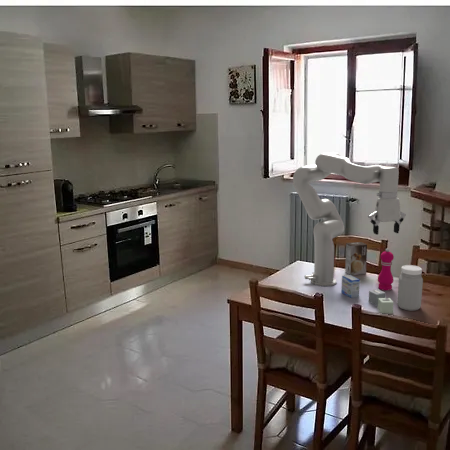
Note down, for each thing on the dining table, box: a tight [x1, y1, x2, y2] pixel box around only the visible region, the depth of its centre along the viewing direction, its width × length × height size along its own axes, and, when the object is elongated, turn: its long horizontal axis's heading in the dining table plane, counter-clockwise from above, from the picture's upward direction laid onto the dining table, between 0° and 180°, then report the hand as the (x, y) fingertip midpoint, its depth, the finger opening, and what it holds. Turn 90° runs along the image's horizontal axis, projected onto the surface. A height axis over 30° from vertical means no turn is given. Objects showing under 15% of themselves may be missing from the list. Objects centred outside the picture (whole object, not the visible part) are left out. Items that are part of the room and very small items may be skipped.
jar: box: [396, 264, 424, 312], centre depth 215 cm, size 10×10×18 cm
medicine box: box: [340, 274, 361, 299], centre depth 232 cm, size 8×4×9 cm, turn 23°
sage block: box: [377, 297, 395, 314], centre depth 213 cm, size 5×5×5 cm
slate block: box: [368, 288, 387, 306], centre depth 223 cm, size 5×5×5 cm
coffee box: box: [345, 241, 368, 276], centre depth 262 cm, size 9×6×16 cm
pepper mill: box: [377, 248, 395, 291], centre depth 239 cm, size 7×7×20 cm
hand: (386, 233), depth 222 cm, fingers open, 9 cm apart
